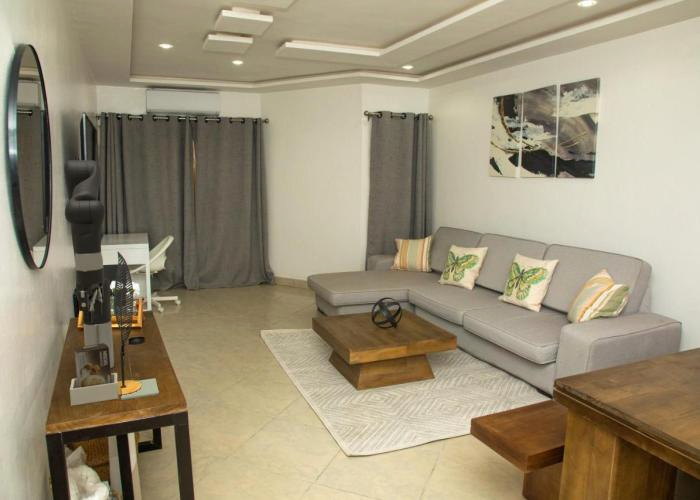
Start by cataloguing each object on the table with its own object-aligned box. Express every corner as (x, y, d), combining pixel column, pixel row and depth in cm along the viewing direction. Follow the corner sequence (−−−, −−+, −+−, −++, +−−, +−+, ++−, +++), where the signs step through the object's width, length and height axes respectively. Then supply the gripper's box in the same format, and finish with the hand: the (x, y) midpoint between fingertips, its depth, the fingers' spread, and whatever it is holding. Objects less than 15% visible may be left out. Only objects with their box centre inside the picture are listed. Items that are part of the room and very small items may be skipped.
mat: (120, 385, 178) (120, 383, 178) (155, 379, 183) (155, 378, 183) (121, 400, 166) (121, 398, 166) (158, 394, 170) (158, 392, 170)
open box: (73, 393, 171) (72, 378, 170) (117, 387, 176) (116, 372, 176) (70, 405, 162) (69, 390, 161) (118, 398, 167) (117, 383, 166)
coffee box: (108, 389, 174) (105, 342, 172) (113, 396, 169) (110, 346, 167) (77, 396, 169) (74, 347, 167) (81, 403, 164) (77, 352, 162)
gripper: (85, 263, 167) (89, 313, 169) (66, 272, 153) (71, 326, 155) (110, 262, 168) (113, 312, 170) (94, 271, 154) (98, 325, 156)
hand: (93, 319), depth 163 cm, fingers open, 8 cm apart
